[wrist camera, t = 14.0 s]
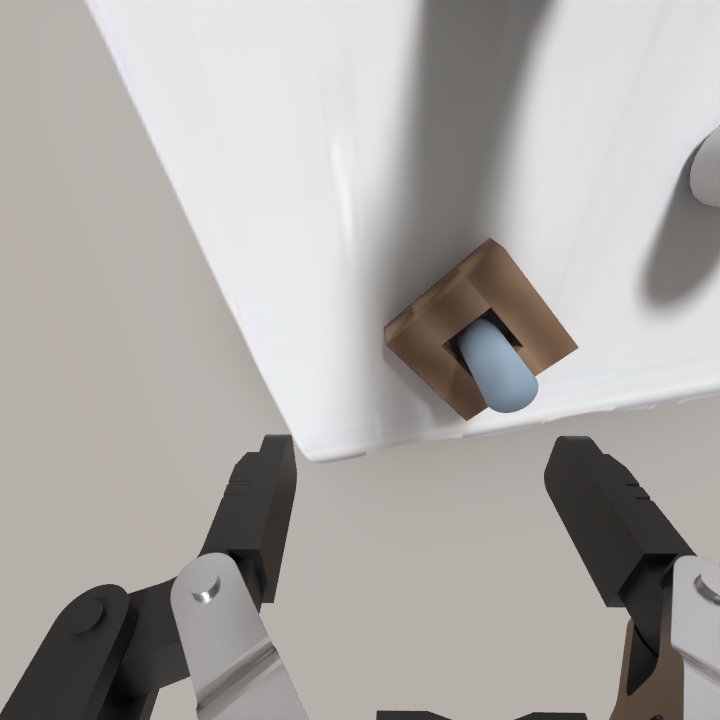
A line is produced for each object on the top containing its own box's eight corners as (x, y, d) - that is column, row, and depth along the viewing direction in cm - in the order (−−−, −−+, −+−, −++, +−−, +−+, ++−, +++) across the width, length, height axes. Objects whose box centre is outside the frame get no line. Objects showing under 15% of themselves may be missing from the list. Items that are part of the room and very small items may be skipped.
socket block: (489, 237, 36) (503, 247, 32) (560, 330, 41) (578, 347, 37) (383, 327, 40) (386, 344, 37) (458, 400, 46) (466, 421, 42)
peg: (477, 303, 39) (520, 359, 29) (500, 330, 41) (548, 392, 30) (444, 329, 41) (474, 391, 30) (467, 353, 42) (503, 421, 32)
